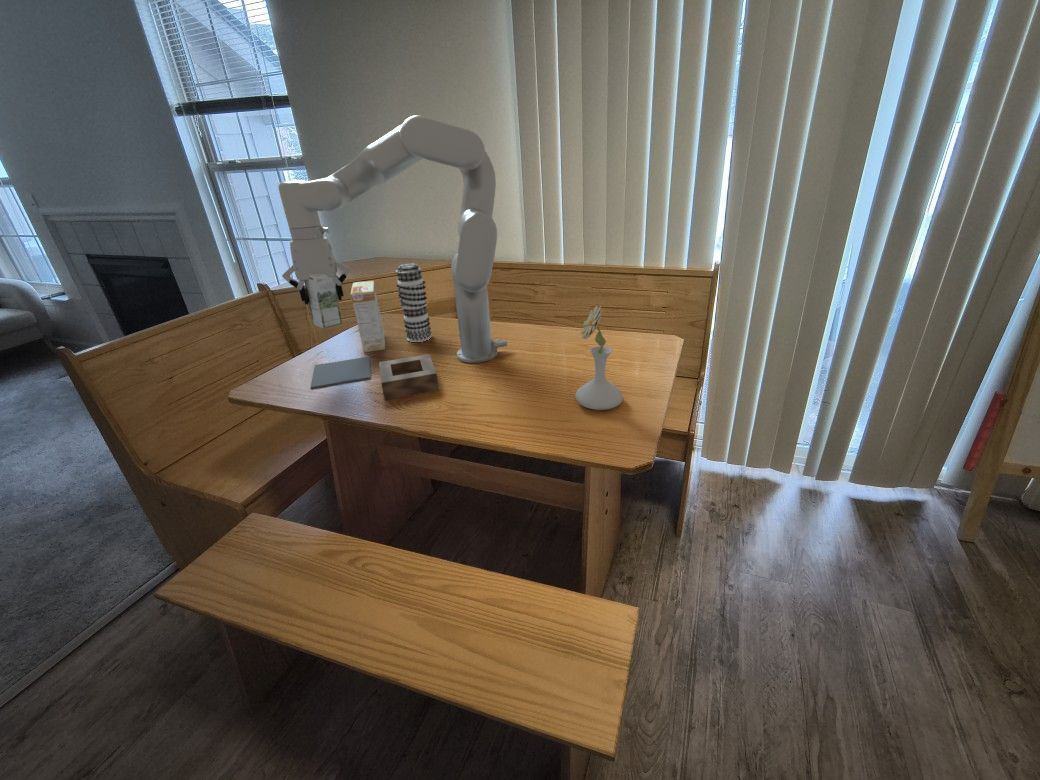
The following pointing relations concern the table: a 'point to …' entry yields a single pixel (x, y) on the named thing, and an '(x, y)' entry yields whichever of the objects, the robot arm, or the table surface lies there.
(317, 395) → the table surface
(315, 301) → the syrup box
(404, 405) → the table surface
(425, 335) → the black and white tower
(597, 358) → the flower in vase
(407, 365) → the walnut pocket holder
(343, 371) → the charcoal mat
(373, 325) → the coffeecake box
